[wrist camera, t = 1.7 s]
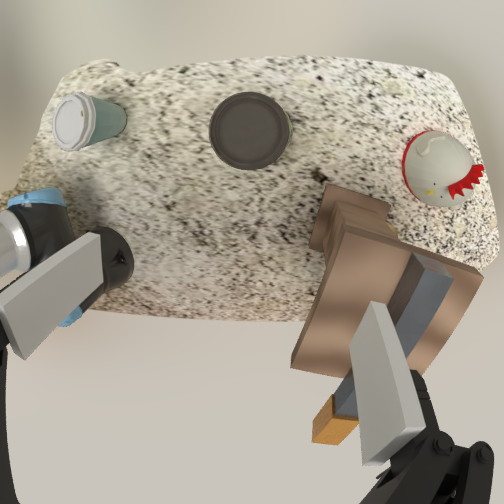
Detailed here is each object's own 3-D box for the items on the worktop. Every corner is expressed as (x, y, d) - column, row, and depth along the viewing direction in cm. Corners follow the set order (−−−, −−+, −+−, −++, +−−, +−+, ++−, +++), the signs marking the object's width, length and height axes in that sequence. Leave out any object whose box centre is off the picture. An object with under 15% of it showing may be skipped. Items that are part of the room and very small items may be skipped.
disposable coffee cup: (100, 149, 52) (51, 161, 39) (93, 103, 48) (43, 105, 34) (139, 136, 50) (91, 143, 36) (131, 87, 46) (83, 81, 32)
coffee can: (271, 91, 43) (260, 77, 30) (303, 141, 46) (304, 144, 33) (222, 122, 47) (193, 120, 34) (253, 169, 49) (235, 185, 37)
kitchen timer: (387, 156, 44) (419, 168, 31) (439, 117, 39) (483, 117, 25) (425, 217, 47) (460, 248, 34) (472, 178, 42) (517, 198, 28)
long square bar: (337, 423, 30) (337, 445, 27) (312, 420, 31) (311, 442, 28) (441, 261, 20) (458, 281, 17) (410, 251, 20) (424, 271, 17)
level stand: (379, 271, 53) (424, 388, 26) (298, 249, 54) (290, 367, 27) (406, 200, 46) (495, 281, 20) (320, 172, 48) (345, 231, 21)
